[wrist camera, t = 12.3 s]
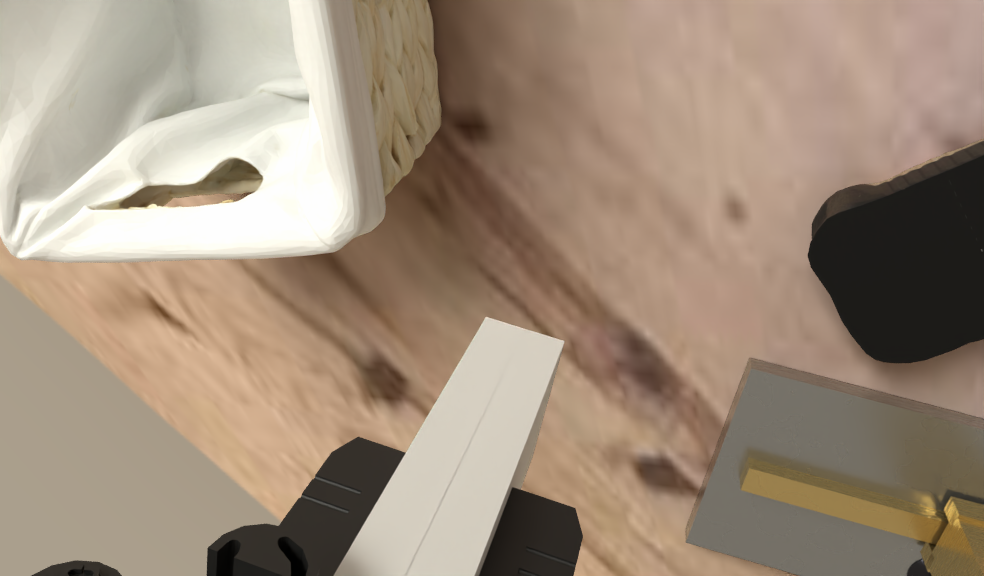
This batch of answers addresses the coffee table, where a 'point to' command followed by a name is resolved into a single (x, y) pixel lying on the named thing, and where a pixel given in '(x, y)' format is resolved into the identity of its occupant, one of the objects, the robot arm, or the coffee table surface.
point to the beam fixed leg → (843, 501)
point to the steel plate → (832, 472)
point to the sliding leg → (958, 542)
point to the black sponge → (908, 258)
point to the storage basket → (207, 124)
